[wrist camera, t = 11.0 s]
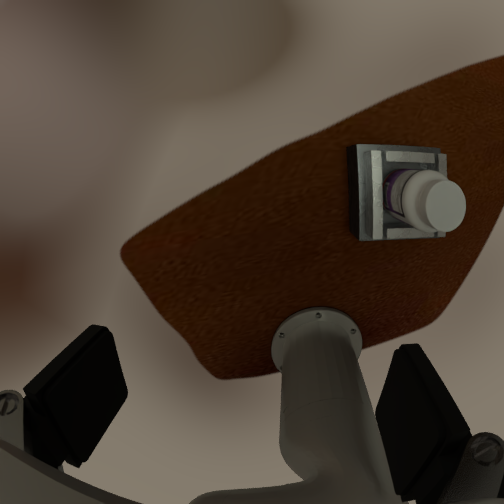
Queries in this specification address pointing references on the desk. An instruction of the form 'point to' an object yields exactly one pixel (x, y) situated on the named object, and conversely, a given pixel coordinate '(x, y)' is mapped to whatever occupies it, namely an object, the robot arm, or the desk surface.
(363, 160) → the grey open box
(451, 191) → the pill bottle
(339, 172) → the desk surface
